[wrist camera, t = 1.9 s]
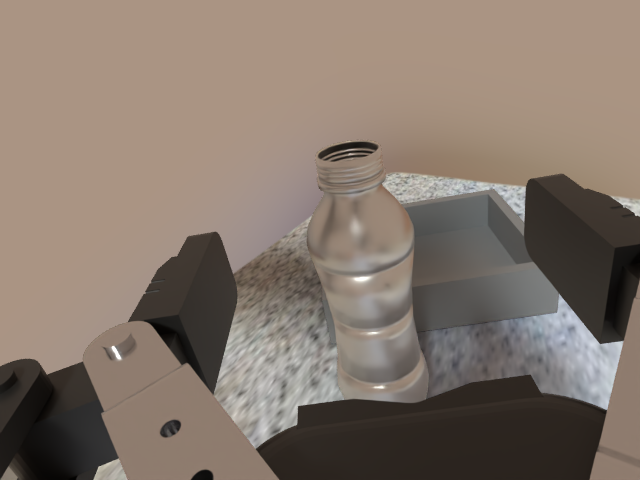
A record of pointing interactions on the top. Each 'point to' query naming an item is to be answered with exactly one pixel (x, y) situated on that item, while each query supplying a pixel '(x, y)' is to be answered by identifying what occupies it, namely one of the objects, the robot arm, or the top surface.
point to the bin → (470, 264)
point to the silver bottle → (367, 275)
